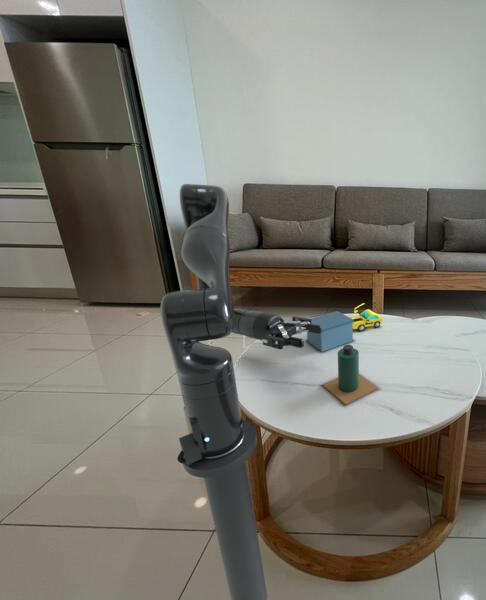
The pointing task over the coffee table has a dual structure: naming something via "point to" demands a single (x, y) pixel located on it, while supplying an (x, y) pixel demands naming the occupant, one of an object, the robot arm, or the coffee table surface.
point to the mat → (349, 397)
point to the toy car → (366, 319)
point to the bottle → (348, 369)
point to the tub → (331, 331)
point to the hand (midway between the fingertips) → (312, 336)
